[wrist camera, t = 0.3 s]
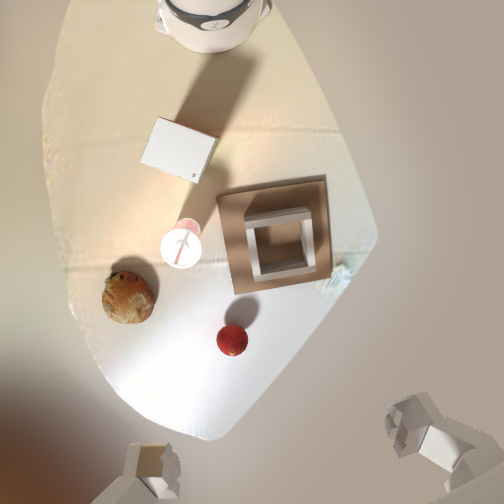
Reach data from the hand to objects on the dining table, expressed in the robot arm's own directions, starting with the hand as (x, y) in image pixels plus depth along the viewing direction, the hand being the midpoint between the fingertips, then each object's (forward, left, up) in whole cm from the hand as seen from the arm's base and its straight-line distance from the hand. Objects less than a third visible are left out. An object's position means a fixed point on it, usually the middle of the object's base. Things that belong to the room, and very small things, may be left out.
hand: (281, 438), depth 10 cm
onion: (+26, -5, -46) cm, 53 cm away
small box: (-9, -6, -46) cm, 47 cm away
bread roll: (+15, -23, -46) cm, 54 cm away
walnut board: (+9, +6, -46) cm, 47 cm away
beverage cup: (+5, -9, -46) cm, 47 cm away
